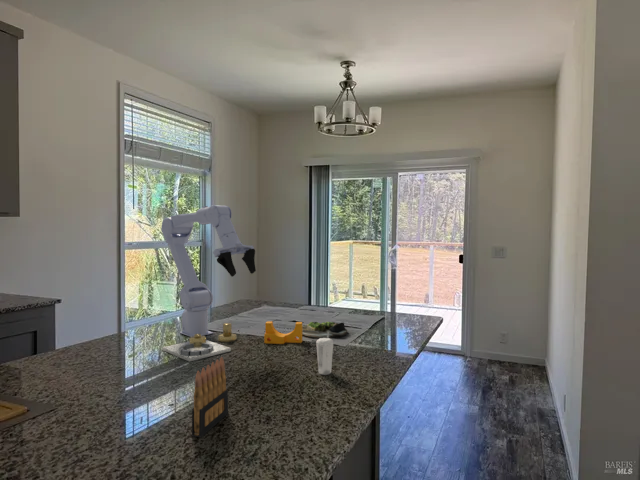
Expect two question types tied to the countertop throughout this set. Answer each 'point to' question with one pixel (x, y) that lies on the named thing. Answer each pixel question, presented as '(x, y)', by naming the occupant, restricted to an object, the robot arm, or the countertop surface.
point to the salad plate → (324, 329)
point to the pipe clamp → (280, 338)
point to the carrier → (196, 348)
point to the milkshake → (324, 355)
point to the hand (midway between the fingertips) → (243, 273)
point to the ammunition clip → (209, 398)
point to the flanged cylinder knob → (227, 334)
